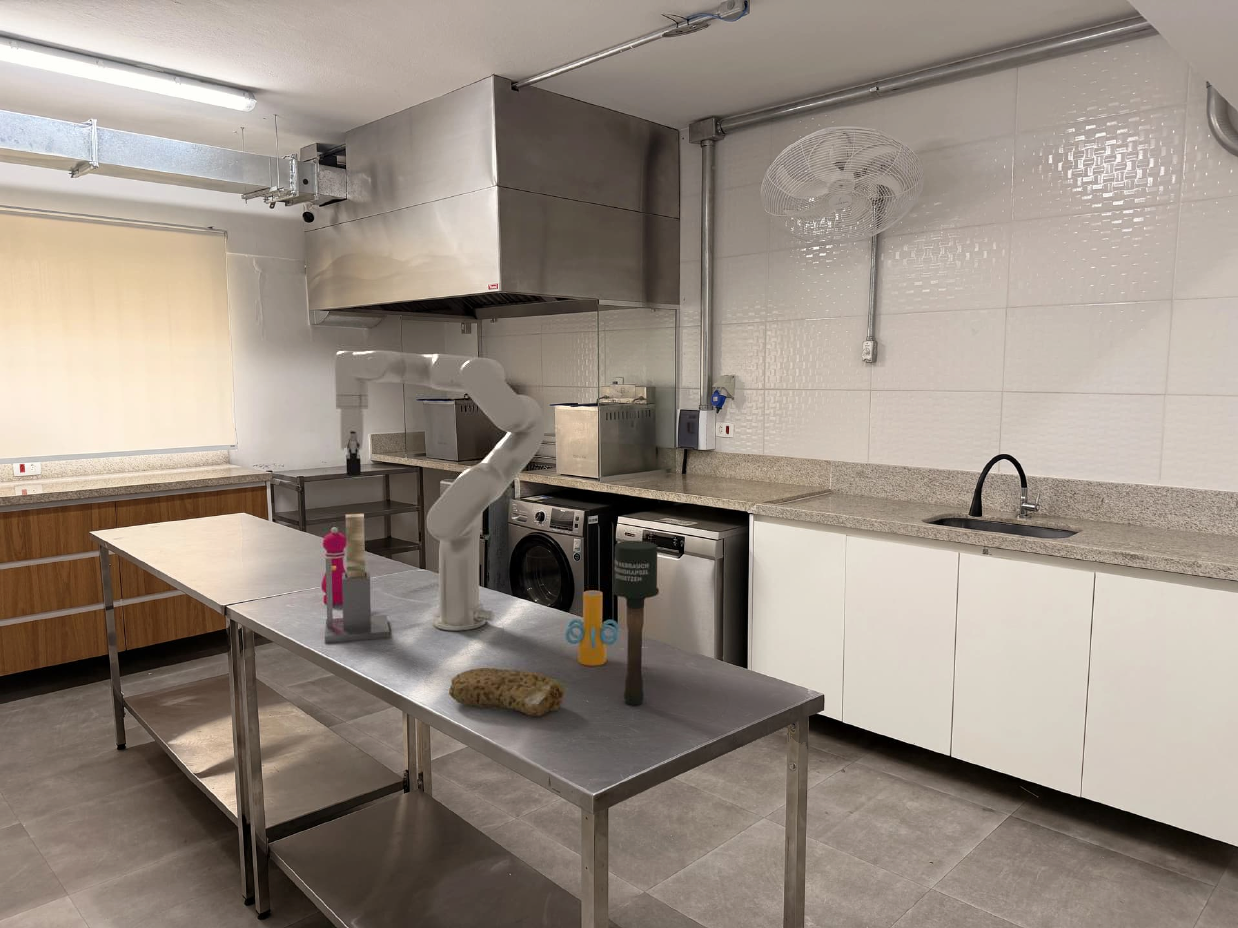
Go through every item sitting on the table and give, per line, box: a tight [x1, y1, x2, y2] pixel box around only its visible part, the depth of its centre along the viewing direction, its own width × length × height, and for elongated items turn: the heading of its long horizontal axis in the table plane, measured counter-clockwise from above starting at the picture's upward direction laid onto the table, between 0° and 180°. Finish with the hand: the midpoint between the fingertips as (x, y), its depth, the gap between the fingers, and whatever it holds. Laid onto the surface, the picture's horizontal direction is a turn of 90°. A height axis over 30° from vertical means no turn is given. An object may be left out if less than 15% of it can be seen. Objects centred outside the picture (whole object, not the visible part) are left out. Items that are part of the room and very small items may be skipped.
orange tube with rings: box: [565, 590, 619, 667], centre depth 175 cm, size 12×10×15 cm
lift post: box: [345, 513, 366, 578], centre depth 193 cm, size 4×4×20 cm
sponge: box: [448, 667, 565, 717], centre depth 152 cm, size 13×8×20 cm
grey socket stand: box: [324, 557, 390, 644], centre depth 194 cm, size 14×14×18 cm
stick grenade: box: [611, 540, 660, 706], centre depth 153 cm, size 8×9×30 cm
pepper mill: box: [320, 526, 347, 605], centre depth 219 cm, size 7×7×20 cm
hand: (353, 473), depth 201 cm, fingers open, 9 cm apart
